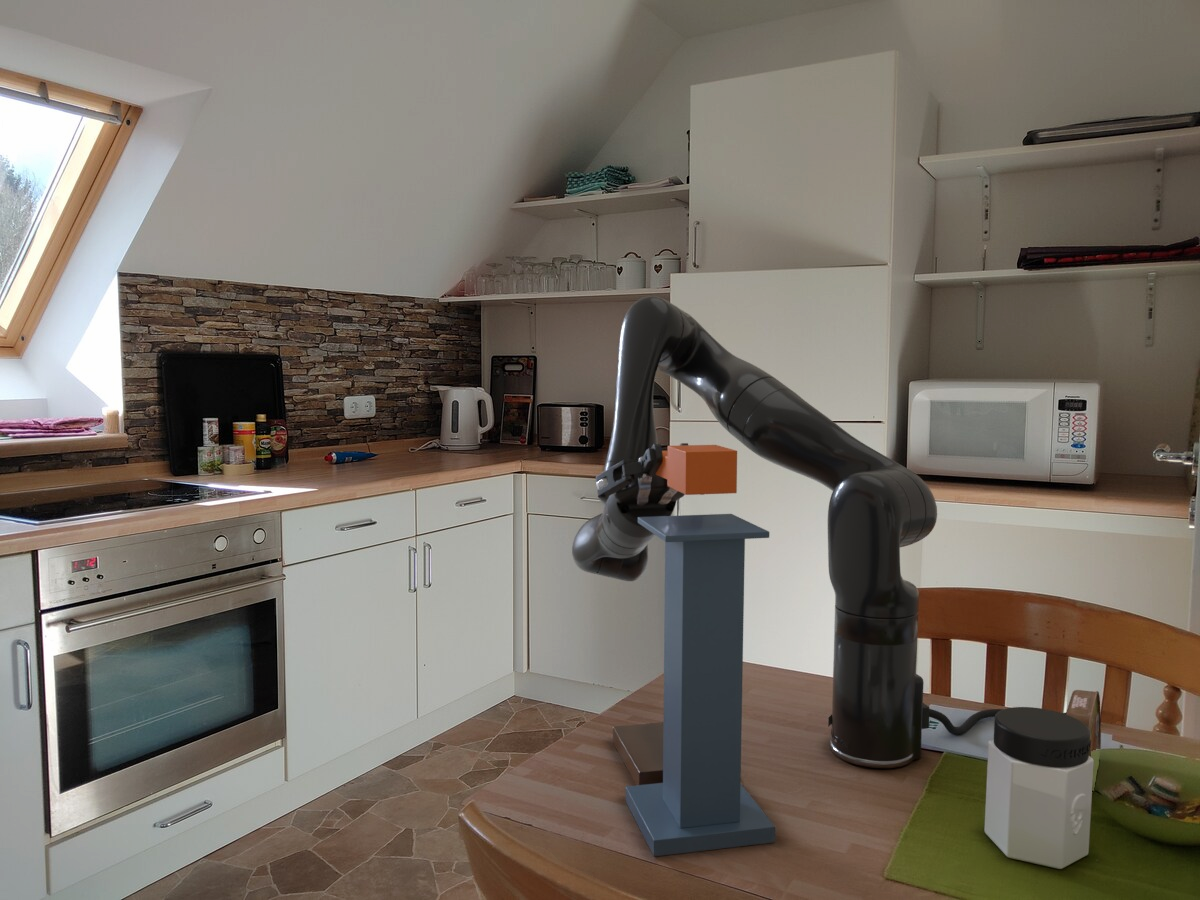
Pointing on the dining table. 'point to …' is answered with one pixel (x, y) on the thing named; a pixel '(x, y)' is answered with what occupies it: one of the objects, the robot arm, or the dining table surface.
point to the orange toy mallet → (700, 469)
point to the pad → (641, 751)
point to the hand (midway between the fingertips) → (672, 451)
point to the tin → (1087, 714)
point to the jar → (1039, 786)
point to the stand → (701, 692)
